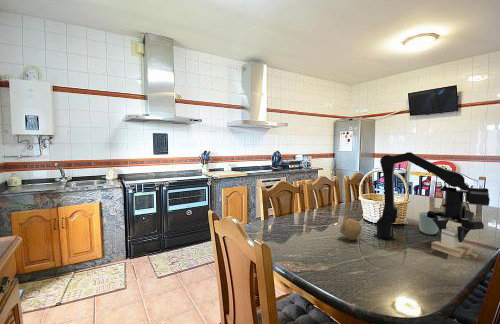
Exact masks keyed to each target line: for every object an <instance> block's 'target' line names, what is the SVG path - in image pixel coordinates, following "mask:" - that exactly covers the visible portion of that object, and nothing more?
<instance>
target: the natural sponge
mask: <svg viewBox="0 0 500 324" xmlns="http://www.w3.org/2000/svg"><path fill="white" fill-rule="evenodd" d="M361 231H362V225H361V224H360V222H359V221H358V220H356V219H354V218H348V219H345V220H344V221H343V222H342V223H341V225H340V227H339V232H340V234H341V235H342V236H345V237H346V238H347V239H348V241H349V240H350V241H355V240H356V239H358V238H359V236H360V234H361Z"/></svg>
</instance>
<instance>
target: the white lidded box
mask: <svg viewBox="0 0 500 324" xmlns="http://www.w3.org/2000/svg"><path fill="white" fill-rule="evenodd" d="M440 234H441V235H440V236H441V237H440V238H441V239H440V240H441V243H442V244H445V245H448V246H450V247H453V248H455V247H463V244H464V241H463V242H462V243H460V242H459V239H458V231H457V229H454V228H446V229H442V231H441V232H440Z"/></svg>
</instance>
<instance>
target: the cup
mask: <svg viewBox="0 0 500 324" xmlns="http://www.w3.org/2000/svg"><path fill="white" fill-rule="evenodd" d="M427 213H428V211H421V212H419V215H418V225H419V226H418V228H419V230H420V231H421V233H423V234H425V235H427V236H429V235H430V236H431V235H432V236H434V235H436V234H437V232H438V230H439V228H438V227H437V225H436V223H435V222H434V221H433V220H432V219H434V218H429V217H427Z"/></svg>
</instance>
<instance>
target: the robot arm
mask: <svg viewBox="0 0 500 324" xmlns="http://www.w3.org/2000/svg"><path fill="white" fill-rule="evenodd" d="M379 162H380V167H381V171H382V173H383V174H382V175H383V191H384V193H383V194H384V205H383V210H382V215H381V216H380V217H379V218H378V219H377V221H376V233H375V234H374V237H376V238H378V239H381V240H383V241H389V240H396V237H394V225H393V224H394V223H396V221H397V219H399V217H400V213H399V209H400V208H399V207H398V206H396V205H395V186H394V181H395V180H394V173H395V170H396V169H395V168H396V164H399V163H406V162H409V163H411V164H413V165H416V166H417V167H419V168H421V169H423V170H425V171H427V172H429V173H431V174H433V175H435V177H438V178H439V179H440V180H442V181H443V182H445V184H446V185H448V186H450V187H448V186H446V185H445V184H444V185H443V186H442V187H441V188H439V190H440V192H444V203H442V204H441V206H442V207H443V208H444V210H443V211H441V210H438V209H436V210H428V211H427V212H428V213H427V217H429V218H434V219H432V220H433V221H434V222H435V223H436V225H437V227H438V230H439V232H440V233H441V231H442V229H447V223H448V222H449V221H450V222H454V223H457V224H460V226H457V227H456V230H457V231H458V239H459V242H460V243H462V242H463V243H464V240H465V238H466V237H467V235H468V233H469V232H470V231H475V230H484V227H485V225H484V222H483V221H480V220H478V219H473V218H474V215H475V212H473V211H470V210H468V209H466V208H467V207H466V205H464V201H465V202H467V203H468V205H474V206H482V207H483V206H484V207H489V205H490V202H491V201H490V194H489V189H488V188H486V187H484V188H483V187H479V188H478V187H470V186H469V185H468V184H466V183H465V181H466V180H465V177H464V176H463V175H462V174H461V173H460V172H457V171H453V170H450V169H447V168H444V167H441V166H439V165H437V164H435V163H433V162H431V161H429V160H426V159H424V158H422V157H420V156H418V155H416V154H414V153H413V152H411V151H408V152H407V151H406V152H405V153H401V154H396V155H391V154H385V155H382V156H381V158H380V160H379ZM457 188H459V189H457ZM460 189H461V190H460Z"/></svg>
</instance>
